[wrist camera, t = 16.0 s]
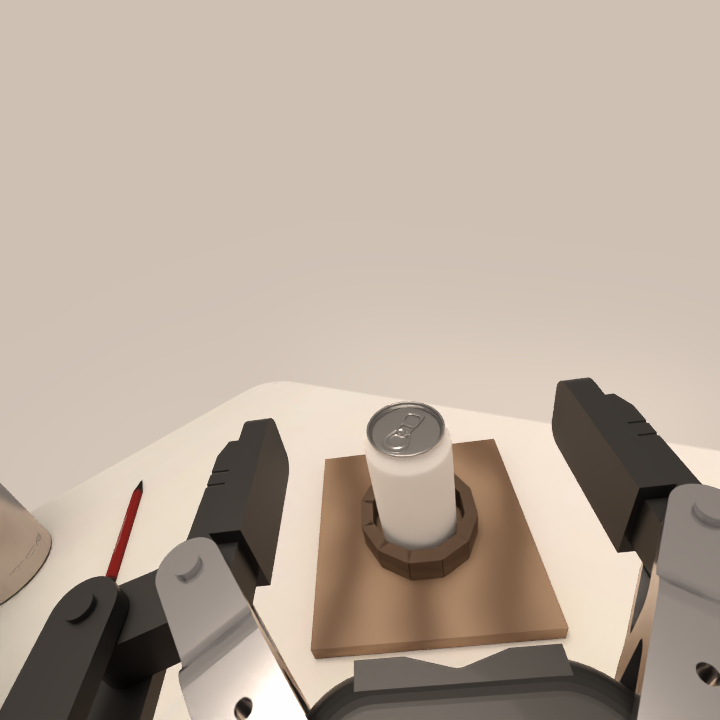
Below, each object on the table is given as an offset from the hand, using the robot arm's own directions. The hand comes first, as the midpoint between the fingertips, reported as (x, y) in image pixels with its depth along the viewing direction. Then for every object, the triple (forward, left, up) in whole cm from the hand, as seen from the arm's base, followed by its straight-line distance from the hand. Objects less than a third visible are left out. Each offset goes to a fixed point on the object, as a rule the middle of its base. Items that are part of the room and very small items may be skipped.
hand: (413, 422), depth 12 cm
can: (0, +13, -25) cm, 28 cm away
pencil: (-30, +17, -27) cm, 43 cm away
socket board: (0, +13, -26) cm, 29 cm away
